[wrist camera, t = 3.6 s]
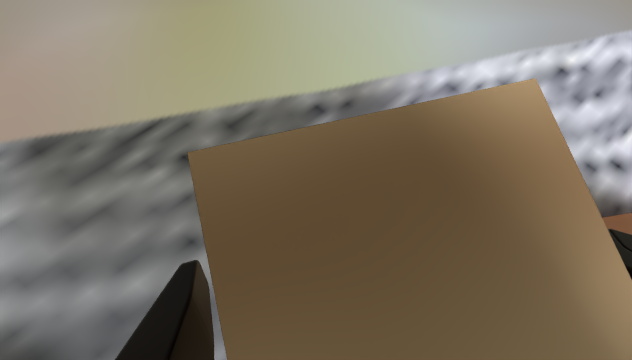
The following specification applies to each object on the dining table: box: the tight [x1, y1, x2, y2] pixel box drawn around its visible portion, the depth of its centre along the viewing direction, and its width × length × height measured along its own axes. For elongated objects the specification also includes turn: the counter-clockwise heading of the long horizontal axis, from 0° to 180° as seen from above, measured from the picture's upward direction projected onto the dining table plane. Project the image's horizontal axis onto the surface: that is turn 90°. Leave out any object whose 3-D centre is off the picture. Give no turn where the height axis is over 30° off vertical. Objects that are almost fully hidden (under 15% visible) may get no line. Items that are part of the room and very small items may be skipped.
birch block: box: [187, 78, 632, 360], centre depth 10 cm, size 5×5×12 cm
